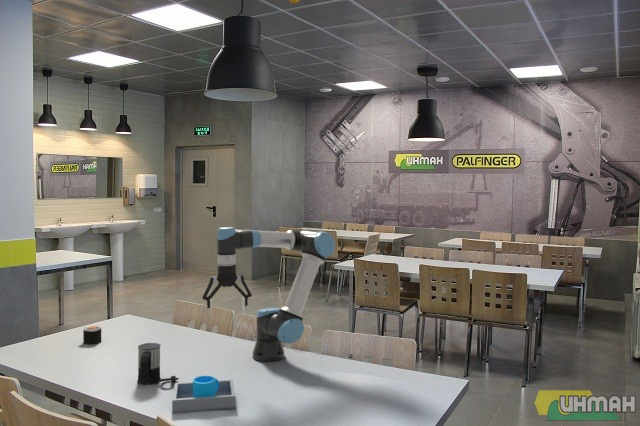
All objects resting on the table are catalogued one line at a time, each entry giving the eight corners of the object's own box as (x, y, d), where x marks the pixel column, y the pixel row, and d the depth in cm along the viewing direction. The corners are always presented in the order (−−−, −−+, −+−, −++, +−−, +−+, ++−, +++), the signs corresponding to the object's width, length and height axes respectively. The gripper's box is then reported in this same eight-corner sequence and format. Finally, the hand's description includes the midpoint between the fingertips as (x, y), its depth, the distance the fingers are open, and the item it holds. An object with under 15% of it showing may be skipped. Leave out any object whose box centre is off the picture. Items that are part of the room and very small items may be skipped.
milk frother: (136, 378, 217) (136, 343, 217) (175, 374, 223) (175, 340, 223) (138, 390, 204) (138, 353, 203) (180, 385, 210) (180, 349, 209)
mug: (205, 407, 187) (205, 385, 187) (188, 402, 191) (188, 380, 191) (226, 396, 198) (226, 375, 197) (209, 392, 202) (210, 371, 201)
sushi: (89, 339, 271) (89, 324, 271) (104, 340, 270) (104, 325, 270) (80, 344, 263) (80, 328, 263) (95, 345, 262) (95, 329, 262)
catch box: (232, 391, 205) (232, 379, 205) (235, 409, 188) (235, 396, 188) (174, 395, 200) (174, 382, 200) (172, 413, 183) (172, 400, 183)
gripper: (196, 267, 210) (197, 319, 212) (257, 264, 216) (258, 314, 218) (195, 264, 218) (196, 314, 219) (255, 261, 224) (256, 310, 225)
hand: (227, 314), depth 218 cm, fingers open, 13 cm apart
